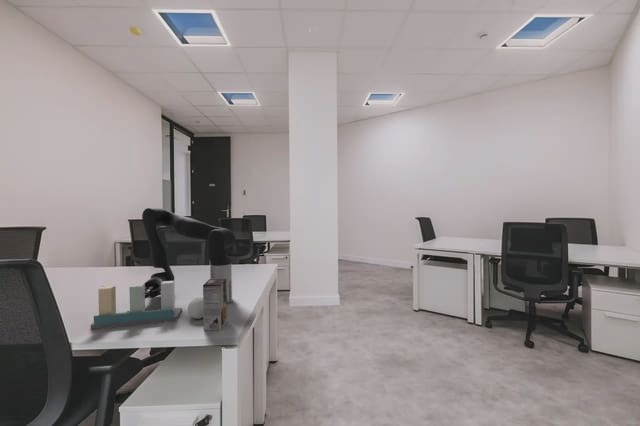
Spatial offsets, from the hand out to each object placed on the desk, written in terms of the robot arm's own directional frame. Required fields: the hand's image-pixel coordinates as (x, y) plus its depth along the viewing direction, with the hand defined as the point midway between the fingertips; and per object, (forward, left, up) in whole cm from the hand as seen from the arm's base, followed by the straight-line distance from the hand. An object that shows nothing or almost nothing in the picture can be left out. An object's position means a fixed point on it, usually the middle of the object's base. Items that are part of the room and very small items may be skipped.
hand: (140, 298), depth 119 cm
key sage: (0, +4, -6) cm, 7 cm away
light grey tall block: (-10, +1, -6) cm, 12 cm away
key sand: (+10, +4, -6) cm, 12 cm away
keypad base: (0, +1, -8) cm, 8 cm away
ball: (-22, +6, -8) cm, 24 cm away
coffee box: (-29, +16, -8) cm, 34 cm away
